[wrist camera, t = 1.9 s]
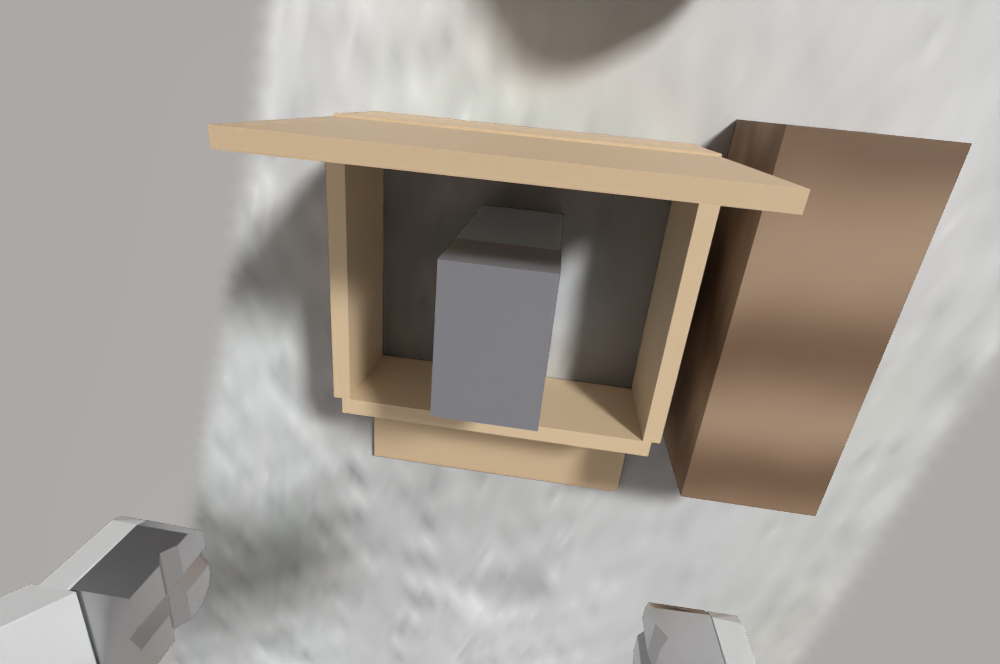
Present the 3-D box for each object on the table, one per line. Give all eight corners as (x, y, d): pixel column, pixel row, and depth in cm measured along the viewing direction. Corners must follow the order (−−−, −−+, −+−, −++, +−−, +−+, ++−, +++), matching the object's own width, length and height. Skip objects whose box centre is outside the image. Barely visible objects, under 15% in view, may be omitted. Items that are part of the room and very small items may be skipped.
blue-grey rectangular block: (482, 205, 27) (437, 259, 18) (563, 214, 26) (560, 274, 17) (473, 316, 29) (430, 415, 20) (547, 326, 29) (537, 431, 20)
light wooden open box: (367, 110, 26) (192, 118, 14) (702, 145, 24) (829, 186, 13) (369, 451, 33) (259, 644, 21) (623, 489, 32) (655, 715, 20)
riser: (736, 119, 24) (786, 124, 18) (877, 133, 23) (971, 143, 18) (660, 424, 30) (680, 496, 25) (769, 439, 30) (815, 516, 24)
